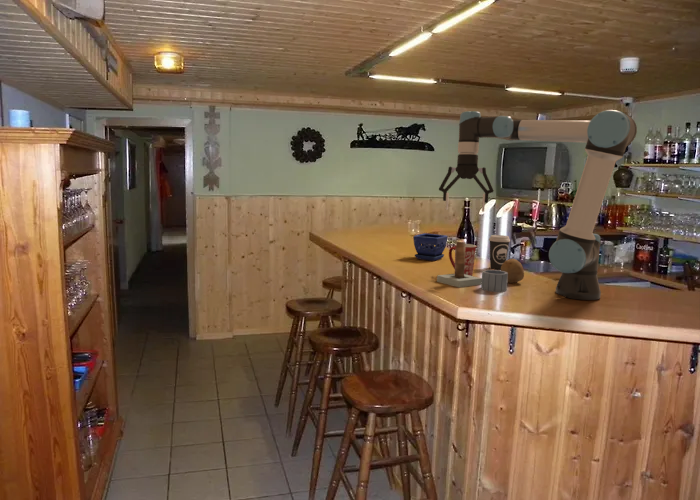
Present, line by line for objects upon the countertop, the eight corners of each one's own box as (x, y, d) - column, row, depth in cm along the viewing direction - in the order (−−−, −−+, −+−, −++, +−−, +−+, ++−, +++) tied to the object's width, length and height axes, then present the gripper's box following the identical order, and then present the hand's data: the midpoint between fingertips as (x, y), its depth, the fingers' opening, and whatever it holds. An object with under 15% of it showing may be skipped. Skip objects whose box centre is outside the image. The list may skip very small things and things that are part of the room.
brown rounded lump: (498, 280, 222) (500, 256, 220) (521, 282, 220) (523, 257, 219) (500, 284, 213) (502, 259, 212) (524, 286, 211) (526, 261, 210)
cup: (511, 291, 201) (512, 273, 200) (494, 294, 196) (496, 275, 195) (492, 287, 208) (493, 269, 207) (476, 289, 203) (477, 270, 202)
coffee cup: (510, 268, 251) (513, 236, 249) (504, 271, 243) (507, 238, 241) (490, 265, 257) (492, 234, 254) (484, 268, 249) (486, 236, 246)
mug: (479, 277, 226) (481, 245, 224) (464, 280, 221) (466, 247, 219) (456, 272, 236) (458, 242, 234) (441, 274, 231) (443, 243, 229)
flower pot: (436, 262, 263) (437, 237, 261) (411, 259, 270) (412, 235, 268) (447, 258, 274) (448, 235, 272) (423, 256, 281) (424, 233, 279)
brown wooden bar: (465, 283, 211) (467, 242, 209) (459, 284, 209) (461, 242, 207) (459, 282, 214) (461, 241, 212) (452, 282, 212) (454, 241, 210)
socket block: (481, 285, 210) (481, 278, 209) (458, 288, 203) (459, 281, 203) (458, 280, 220) (459, 272, 219) (436, 282, 213) (437, 275, 212)
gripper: (502, 155, 205) (498, 211, 208) (435, 153, 211) (433, 208, 214) (502, 154, 197) (498, 212, 200) (433, 153, 204) (430, 209, 207)
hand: (464, 210), depth 207 cm, fingers open, 13 cm apart
